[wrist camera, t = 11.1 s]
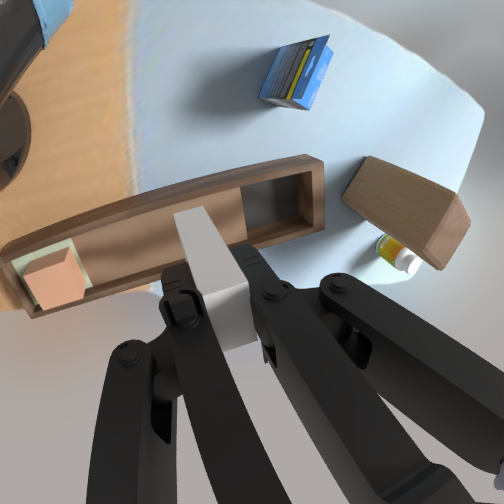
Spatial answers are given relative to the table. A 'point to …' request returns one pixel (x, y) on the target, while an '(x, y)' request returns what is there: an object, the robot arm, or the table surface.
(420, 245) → the block
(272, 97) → the blue retail box
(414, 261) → the supplement bottle
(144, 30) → the table surface
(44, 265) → the clay block
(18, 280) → the channel
